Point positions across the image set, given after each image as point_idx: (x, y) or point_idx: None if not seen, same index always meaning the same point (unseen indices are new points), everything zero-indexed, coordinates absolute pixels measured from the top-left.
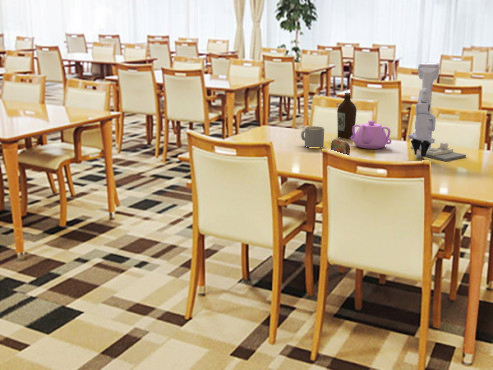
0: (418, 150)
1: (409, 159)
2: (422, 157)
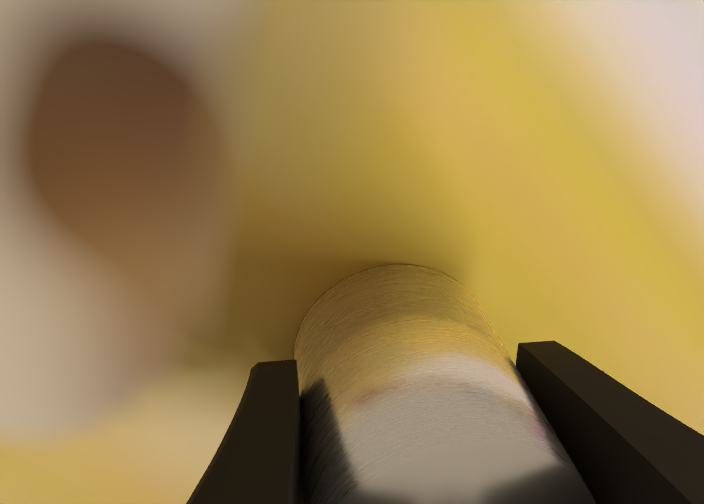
0: (430, 435)
1: (490, 23)
2: None
